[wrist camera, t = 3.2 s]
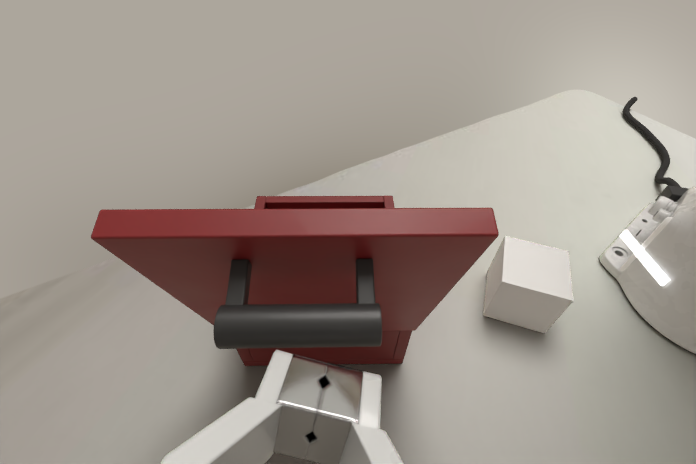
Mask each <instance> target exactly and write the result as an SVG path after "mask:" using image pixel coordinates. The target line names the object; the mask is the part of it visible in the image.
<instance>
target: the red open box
mask: <svg viewBox="0 0 696 464" xmlns="http://www.w3.org/2000/svg"><path fill="white" fill-rule="evenodd" d="M350 208H394V202H393V196H267V197H266V196H257V199H256V203H255V208H254V209H350ZM411 332H412V330H403V331H382V343H381V346H379V347H312V348H242V349H237V351H238V353H239V355H240V357H241V359H242V361H243V363H244V365H245V366H268V365H269V362H270V360H271V358H272V355H273V353H274V352H275V350H276V349H277V350H280V351H284V352H288V353H291V354H296V355H300V356H304V357H307V358H311V359H315V360H318V361H322V362H325V363H331V364H335V365H336V364H400V363H402V362H403V359H404V356H405V353H406V349H407V346H408V343H409V339H410V336H411Z"/></svg>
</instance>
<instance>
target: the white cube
mask: <svg viewBox="0 0 696 464" xmlns="http://www.w3.org/2000/svg"><path fill="white" fill-rule="evenodd" d="M572 302H573V291H572V280H571V270H570V259H569V251H566V250H562V249H558V248H554V247H550V246H546V245H542V244H537V243H533V242H529V241H525V240H521V239H517V238H513V237H509V236H505V237H504V239H503V241H502V243H501V245H500V247H499V249H498V251H497V253H496V255H495V257H494V259H493V261H492V263H491V265H490V267H489V269H488V271H487V281H486V291H485V300H484V310H483V316H486V317H490V318H493V319H497V320H500V321H503V322H507V323H510V324H514V325H517V326H521V327H524V328H527V329H531V330H534V331H538V332H541V333H546V332H547V331H548V329H549V328H550V327H551V326H552V325H553V324H554V323H555V321H556V320H557V319H558V318H559V317H560V316H561V315H562V313H563V312H564V311H565V310H566V309H567V308H568V306H569V305H570V304H571V303H572Z"/></svg>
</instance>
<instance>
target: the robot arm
mask: <svg viewBox="0 0 696 464" xmlns="http://www.w3.org/2000/svg"><path fill="white" fill-rule="evenodd" d="M636 101H637V98H636V97H633V98H632V99H631V100H630V101H628V103H627V104H626V106H625V107H624V109H623V114H624V116H625V118H626V119H627V120H628V121H629V122H630V123H631V124H632V125H633V126H635V127H636V128H637V129H638V130H640V131H641V132H642V133H643V134H644V135H645V136H646V137H647V138H648V140H649V141H650V142H651V143H652V144H653V145H654V146H655V147H656V148H657V150H658V151H659V153H660V154H661V157H662V165H661V167H660V169H659V170H658V172H657V174H656V176H655V178H656V182H658V183H660V184H667V185H668V186H667V187H666V188H665V189H664V190H663V192H662V193H661V194H660V195H659V196H658V197H657V199H656V202H652V203H649V204H648V205H647V206H646V207H645V208H644V209H643V210H642V211H641V212H640V213H639V214H638V215H637V216H636V217H635V218H634V219H633V221H632V222H631V223H630V224H629V225H628V226H627V227H626V228H625V229H624V230H623V231H622V233H621V234H620V235H619V236H618V237H617V238H616V239H615V240H614V241H613V242H612V243H611V245H610V246H609V247H608V248H607V249H606V250H605V251H604V252H603V253H602V254H601V256H600V258H599V259H600V262H601V264H602V265H603V266H604V267H605V268H606V269H607V270H608V271H609V272H610V273H611V274H612V275H613V276H614V277H615V278H616V279H617V281H618V282H619V283H620V285H621V287H622V289H623V291H624V293H625V295H626V296H627V298H628V300H629V301H630V303H631V304H632V305H633V307H634V308H635V309H636V311H637V312H638V313H639V314H640V315H641V316H642V317H643V318H644V319H645V320H646V321H647V322H648V323H649V324H650V325H651V326H652V327H654V328H655V329H656V330H657V331H658V332H660V333H661V334H662V335H664V336H665V337H667V338H668V339H670V340H671V341H673V342H674V343H676V344H678V345H679V346H681V347H683V348H685V349H686V350H688V351H690V352H692V353H694V354H696V187H692V188H689V189H687V188H682V187H680V185H679V184H678V183H677V182H676V181H674V180H673V179H671V178H663V176H664V174H665V172H666V170H667V169H668V167H669V164H670V158H669V154H668V152H667V150H666V149H665V147H664V146H663V145H662V143H661V142H660V141H659V140H658V139H657V138H656V137H655V136H654V135H653V134H652V133H651V132H650V131H649V130H648V129H647V128H646V127H645V126H644V125H642V124H641V123H640V122H639V121H637V120H636V119H635V118H634V117H633V116H632V115H631V114H630V112H629V109H630V107H631V106H632V105H633V104H634V103H635V102H636ZM381 388H382V378H381V375H378V374H373V373H369V372H365V371H363V372H362V371H361V370H357V369H352V368H348V367H344V366H340V365H335V364H331V363H325V362H322V361H318V360H315V359H311V358H307V357H304V356H300V355H296V354H291V353H288V352H284V351H280V350H277V349H276V350H275V352H274V353H273V355H272V358H271V360H270V362H269V365H268V367H267V370H266V372H265V374H264V377H263V379H262V382H261V384H260V386H259V389H258V391H257V394H256V396H255V398H251V397H248V398H247V399H245V400H244V401H243V402H241V403H240V404H238V405H237V406H235V407H234V408H233V409H231V410H230V411H228V412H227V413H225V414H224V415H223V416H221V417H220V418H218V419H217V420H215V421H214V422H212V423H211V424H210V425H208V426H207V427H205V428H204V429H202V430H201V431H200V432H198V433H197V434H195V435H194V436H192V437H191V438H190V439H188V440H187V441H185V442H184V443H182V444H181V445H179V446H178V447H177V448H175V449H174V450H172V451H171V452H169V453H168V454H167V455H165V456H164V458H163V460H162V461H161V463H160V464H264V463H265V462H266V461H267V460H268V459H269V458H270V457H271V456H272V455H273V453H277V454H282V455H286V456H291V457H296V458H300V459H306V460H308V461H312V462H315V463H319V464H404V463H403V461H402V459H401V458H400V456H399V454H398V452H397V450H396V449H395V447H394V445H393V443H392V441H391V440H390V438H389V436H388V434H387V433H386V431H384V430H381V429H380V416H381Z"/></svg>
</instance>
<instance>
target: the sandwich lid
mask: <svg viewBox="0 0 696 464" xmlns="http://www.w3.org/2000/svg"><path fill="white" fill-rule="evenodd" d="M497 237H498V229H497V225H496V221H495V216H494V212H493V209H492V208H350V209H161V210H160V209H154V210H153V209H149V210H148V209H145V210H101V211H100V212H99V215H98V218H97V220H96V223H95V226H94V229H93V232H92V235H91V238H92V239H93V240H94V241H96V242H97V243H98V244H100V245H101V246H103V247H104V248H105V249H107V250H108V251H110V252H111V253H112V254H114V255H115V256H117V257H118V258H120V259H121V260H122V261H124V262H125V263H127V264H128V265H129V266H131V267H132V268H134V269H135V270H136V271H138V272H139V273H141V274H142V275H143V276H145V277H146V278H148V279H149V280H151V281H152V282H153V283H155V284H156V285H158V286H159V287H160V288H162V289H163V290H165V291H166V292H167V293H169V294H170V295H172V296H173V297H174V298H176V299H177V300H179V301H180V302H181V303H183V304H184V305H186V306H187V307H189V308H190V309H191V310H193V311H194V312H196V313H197V314H198V315H200V316H201V317H203V318H204V319H205V320H207V321H208V322H210V323H211V324H212V325H214V341H215V344H216V347H217V348H219V349H242V348H312V347H379V346H381V343H382V331H403V330H416V329H417V328H418V326H419V325H420V324H421V323H422V322H423V321H424V320H425V318H426V317H427V316H428V315H429V314H430V313H431V312H432V311H433V309H434V308H435V307H436V306H437V305H438V304H439V303H440V301H441V300H442V299H443V298H444V297H445V296H446V295H447V293H448V292H449V291H450V290H451V289H452V288H453V287H454V286H455V284H456V283H457V282H458V281H459V280H460V279H461V278H462V276H463V275H464V274H465V273H466V272H467V271H468V270H469V269H470V267H471V266H472V265H473V264H474V263H475V262H476V261H477V259H478V258H479V257H480V256H481V255H482V254H483V253H484V251H485V250H486V249H487V248H488V247H489V246H490V245H491V244H492V242H493V241H494V240H495V239H496V238H497Z"/></svg>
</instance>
